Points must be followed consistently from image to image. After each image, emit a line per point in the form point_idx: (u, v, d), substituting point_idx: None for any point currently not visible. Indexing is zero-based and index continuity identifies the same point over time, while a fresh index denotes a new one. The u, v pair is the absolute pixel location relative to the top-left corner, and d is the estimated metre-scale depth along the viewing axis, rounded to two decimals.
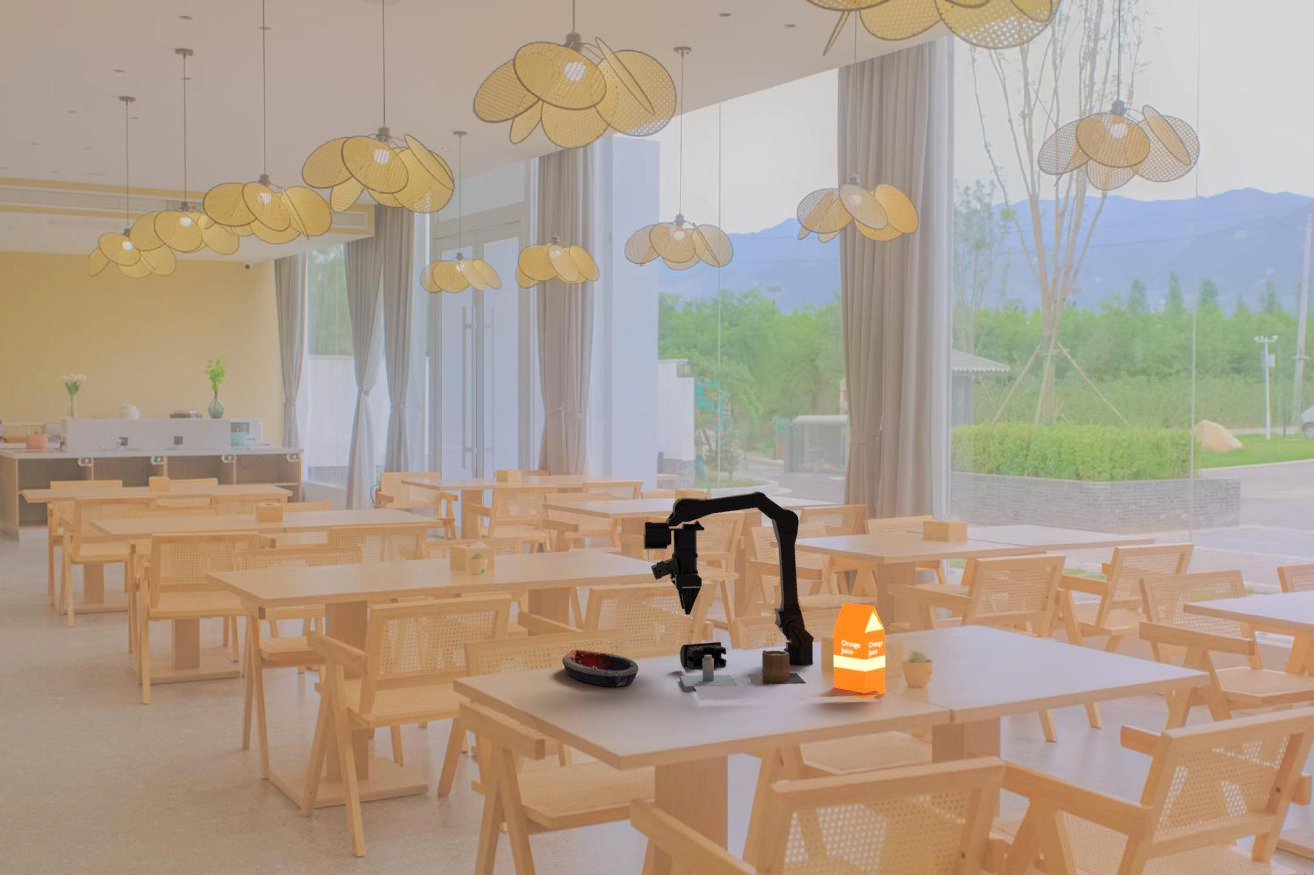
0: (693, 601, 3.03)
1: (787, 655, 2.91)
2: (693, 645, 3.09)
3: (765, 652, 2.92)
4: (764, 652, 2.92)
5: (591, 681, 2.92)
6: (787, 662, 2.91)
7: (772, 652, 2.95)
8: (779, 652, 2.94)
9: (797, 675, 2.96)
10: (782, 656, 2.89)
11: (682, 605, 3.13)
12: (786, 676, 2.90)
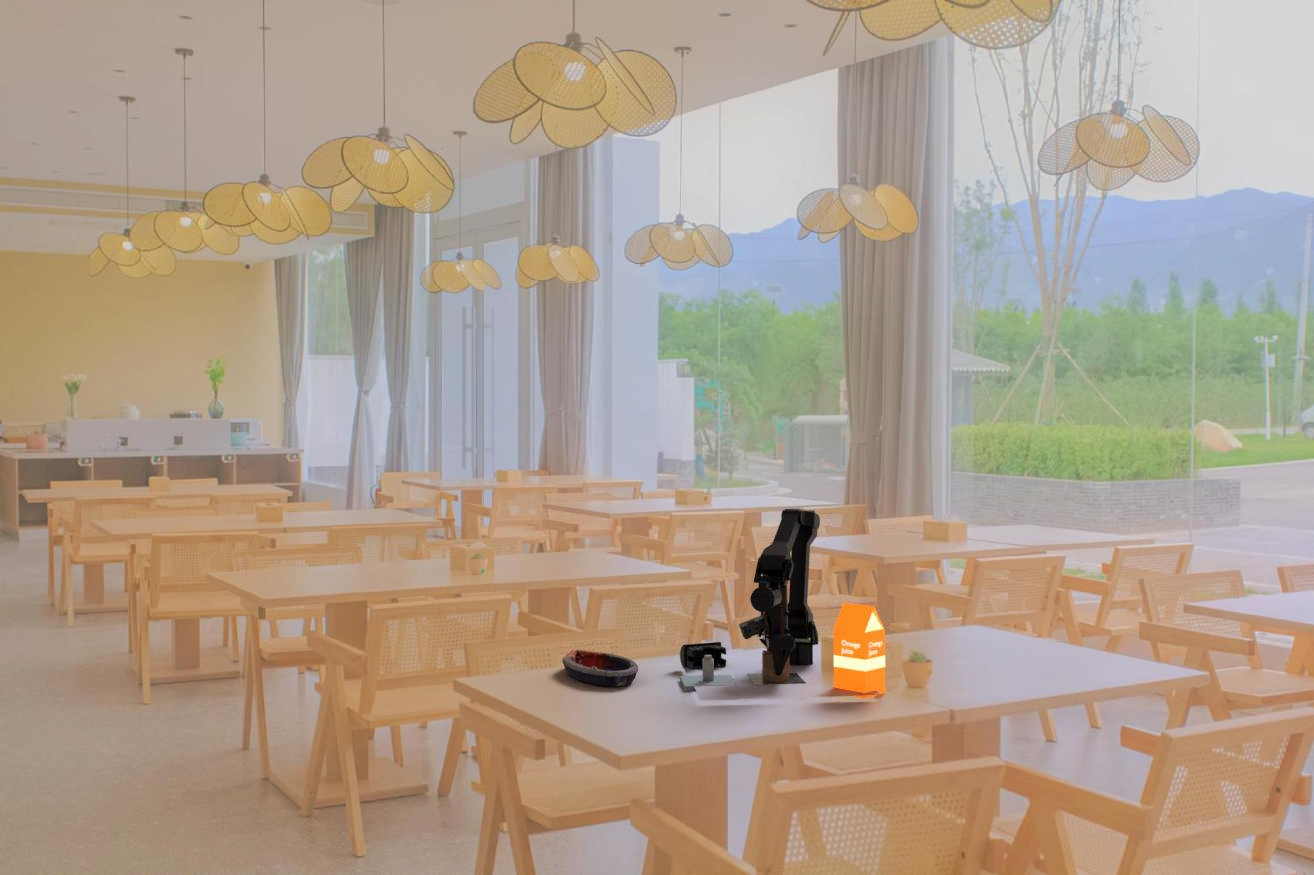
0: (784, 661, 2.88)
1: None
2: (693, 645, 3.09)
3: (765, 652, 2.92)
4: (764, 652, 2.92)
5: (591, 681, 2.92)
6: (787, 662, 2.91)
7: None
8: None
9: (797, 675, 2.96)
10: None
11: None
12: (786, 676, 2.90)
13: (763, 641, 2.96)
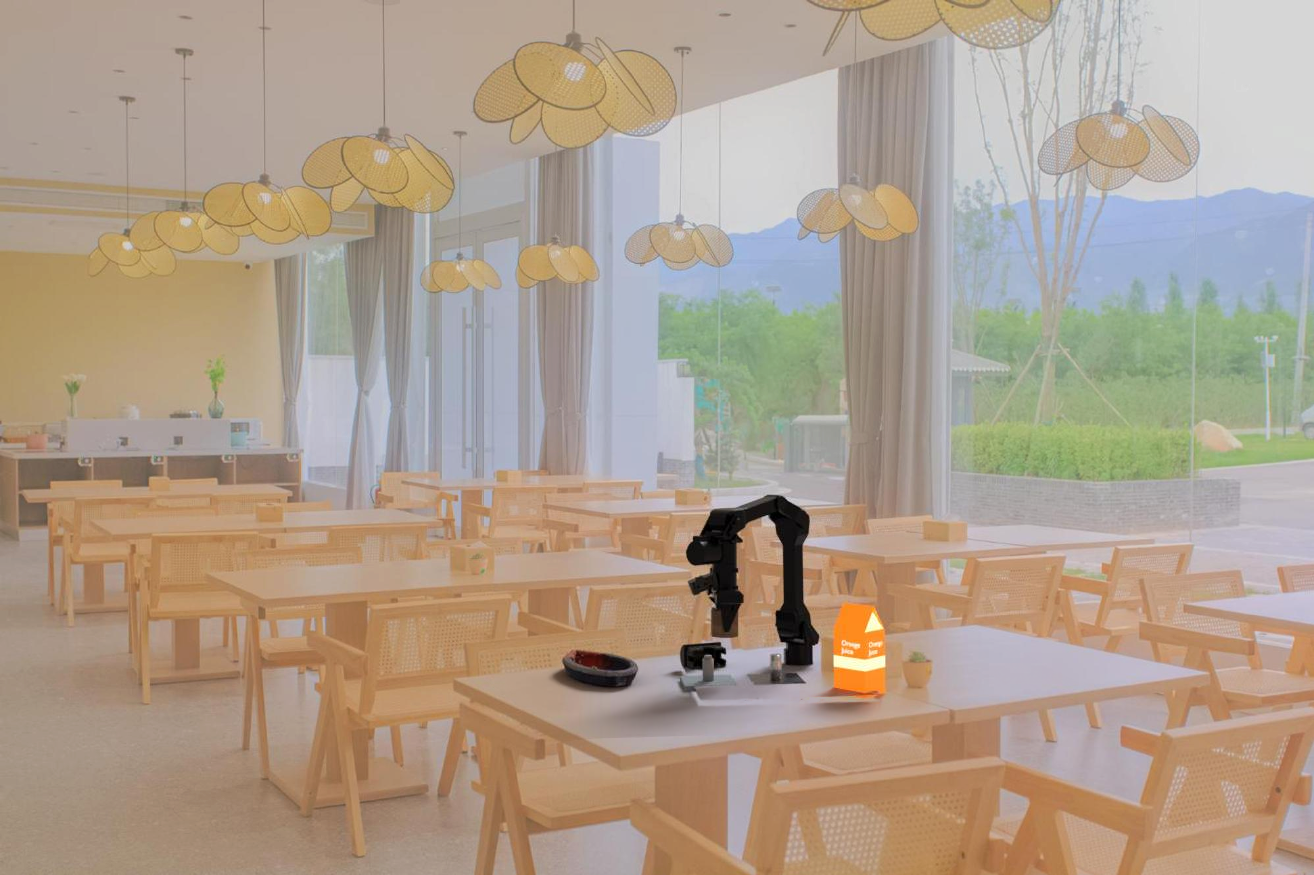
0: (732, 618, 2.87)
1: None
2: (693, 645, 3.09)
3: (714, 609, 2.90)
4: (713, 609, 2.90)
5: (591, 681, 2.92)
6: (736, 619, 2.89)
7: None
8: None
9: (797, 675, 2.96)
10: None
11: None
12: (734, 633, 2.89)
13: (712, 599, 2.95)
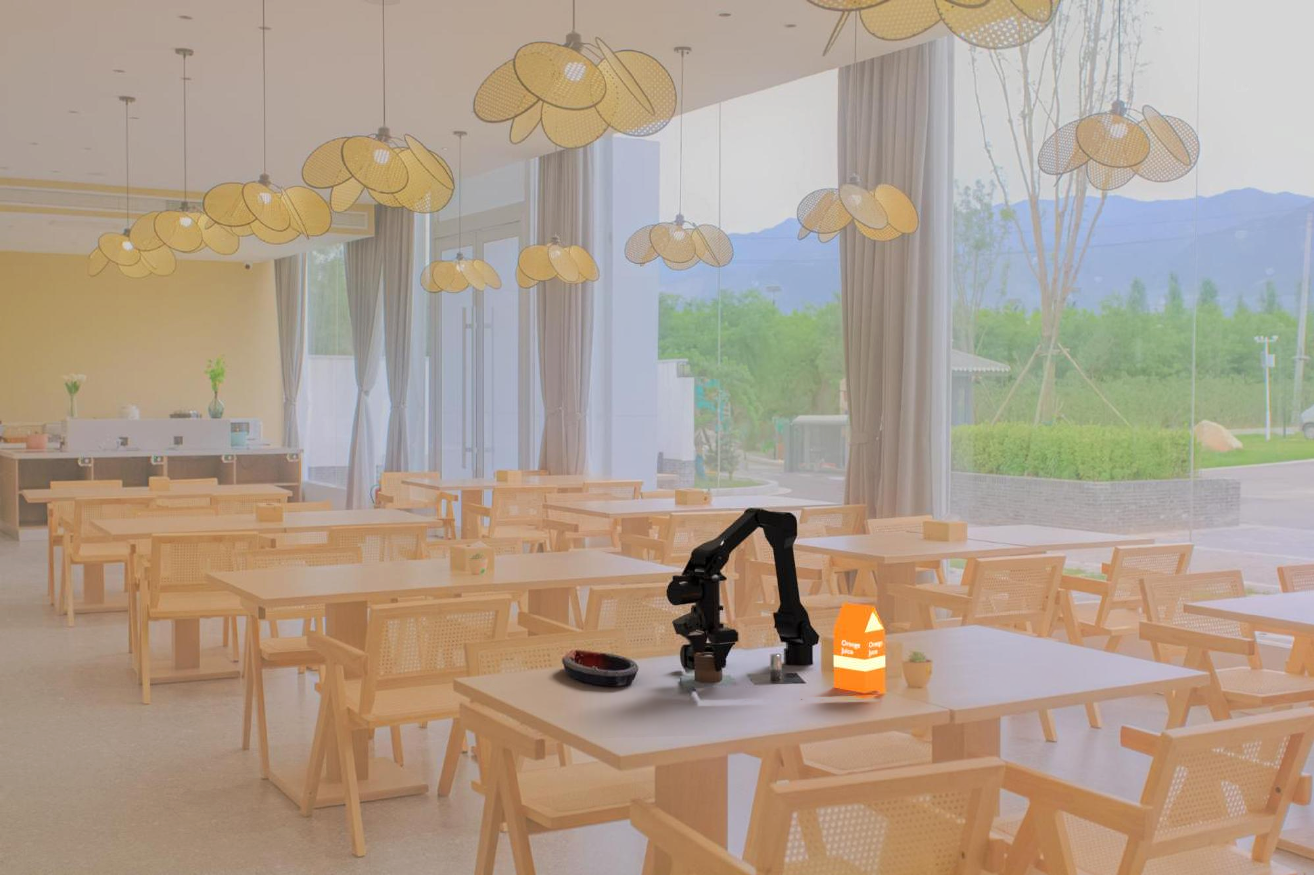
0: (725, 657, 2.87)
1: None
2: None
3: (699, 654, 2.90)
4: (698, 654, 2.89)
5: (591, 681, 2.92)
6: None
7: (702, 654, 2.93)
8: (708, 653, 2.94)
9: (797, 675, 2.96)
10: None
11: None
12: (720, 677, 2.90)
13: (688, 636, 2.95)
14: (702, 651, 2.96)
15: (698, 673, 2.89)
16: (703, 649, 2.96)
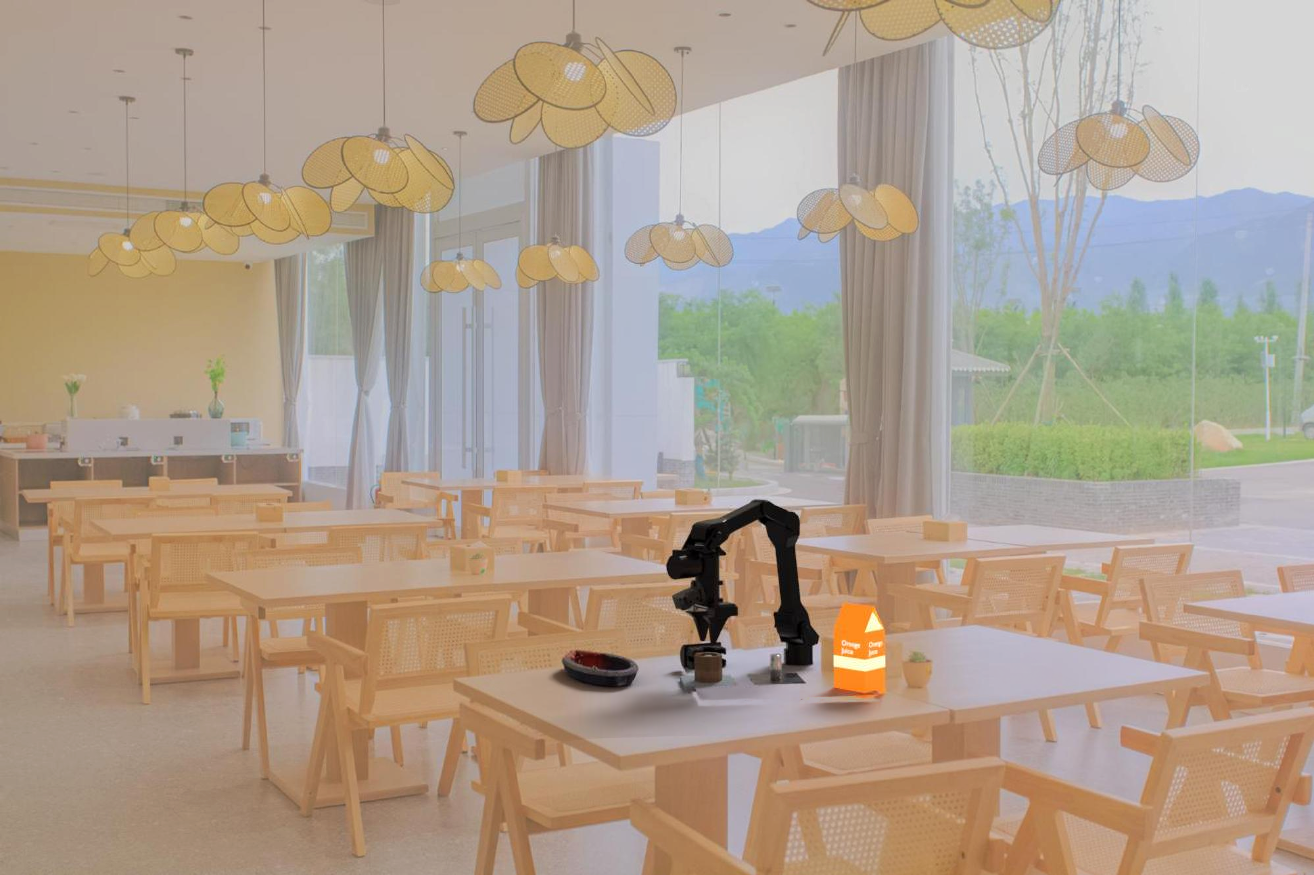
0: (720, 630, 2.88)
1: (721, 656, 2.91)
2: (693, 645, 3.09)
3: (699, 654, 2.90)
4: (698, 654, 2.89)
5: (591, 681, 2.92)
6: (721, 663, 2.91)
7: (702, 654, 2.93)
8: (708, 653, 2.94)
9: (797, 675, 2.96)
10: (718, 657, 2.89)
11: (701, 637, 2.93)
12: (720, 677, 2.90)
13: (692, 613, 2.93)
14: (706, 627, 2.94)
15: (698, 673, 2.89)
16: (707, 625, 2.94)
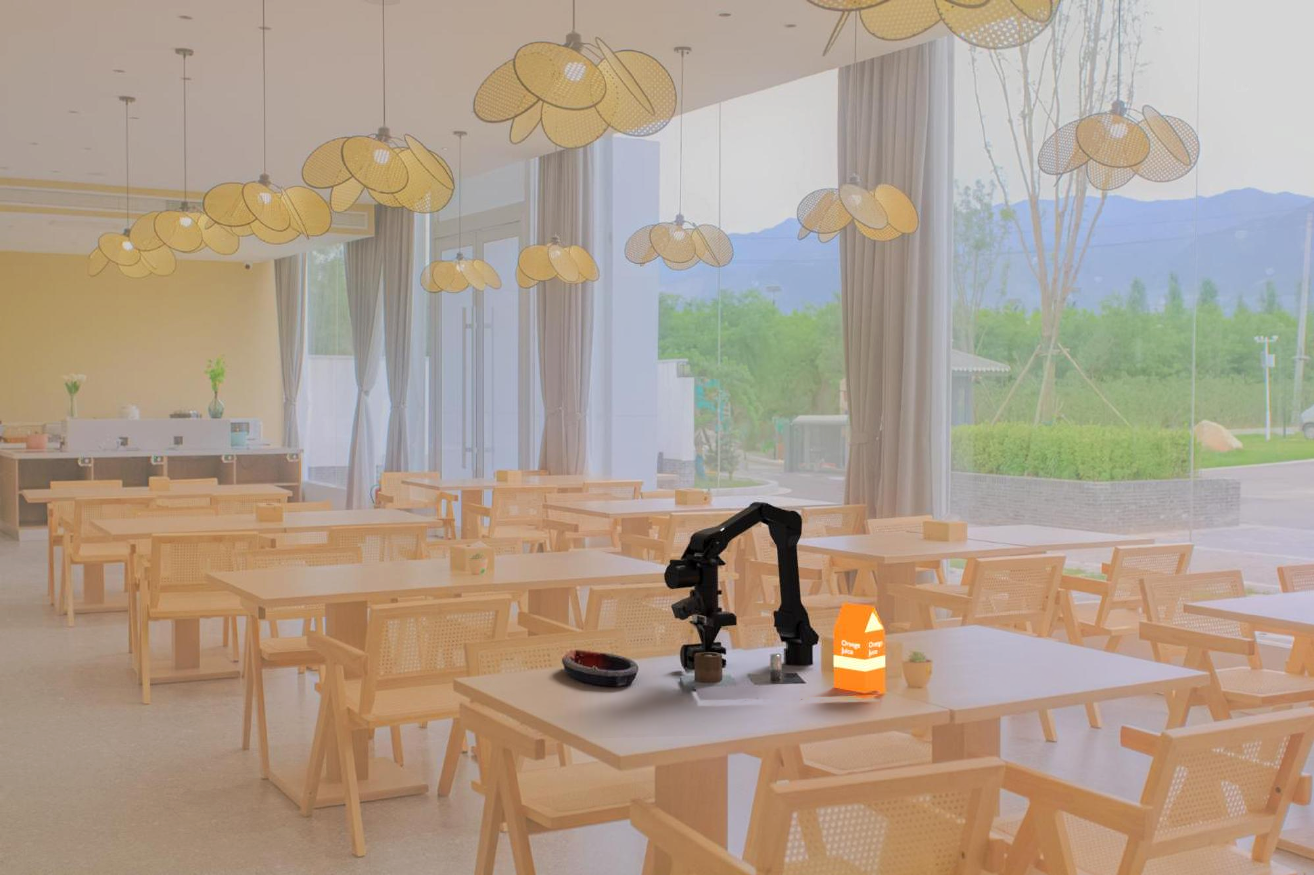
0: (714, 638, 2.93)
1: (721, 656, 2.91)
2: (693, 645, 3.09)
3: (699, 654, 2.90)
4: (698, 654, 2.89)
5: (591, 681, 2.92)
6: (721, 663, 2.91)
7: (702, 654, 2.93)
8: (708, 653, 2.94)
9: (797, 675, 2.96)
10: (718, 657, 2.89)
11: None
12: (720, 677, 2.90)
13: (696, 623, 2.93)
14: None
15: (698, 673, 2.89)
16: None
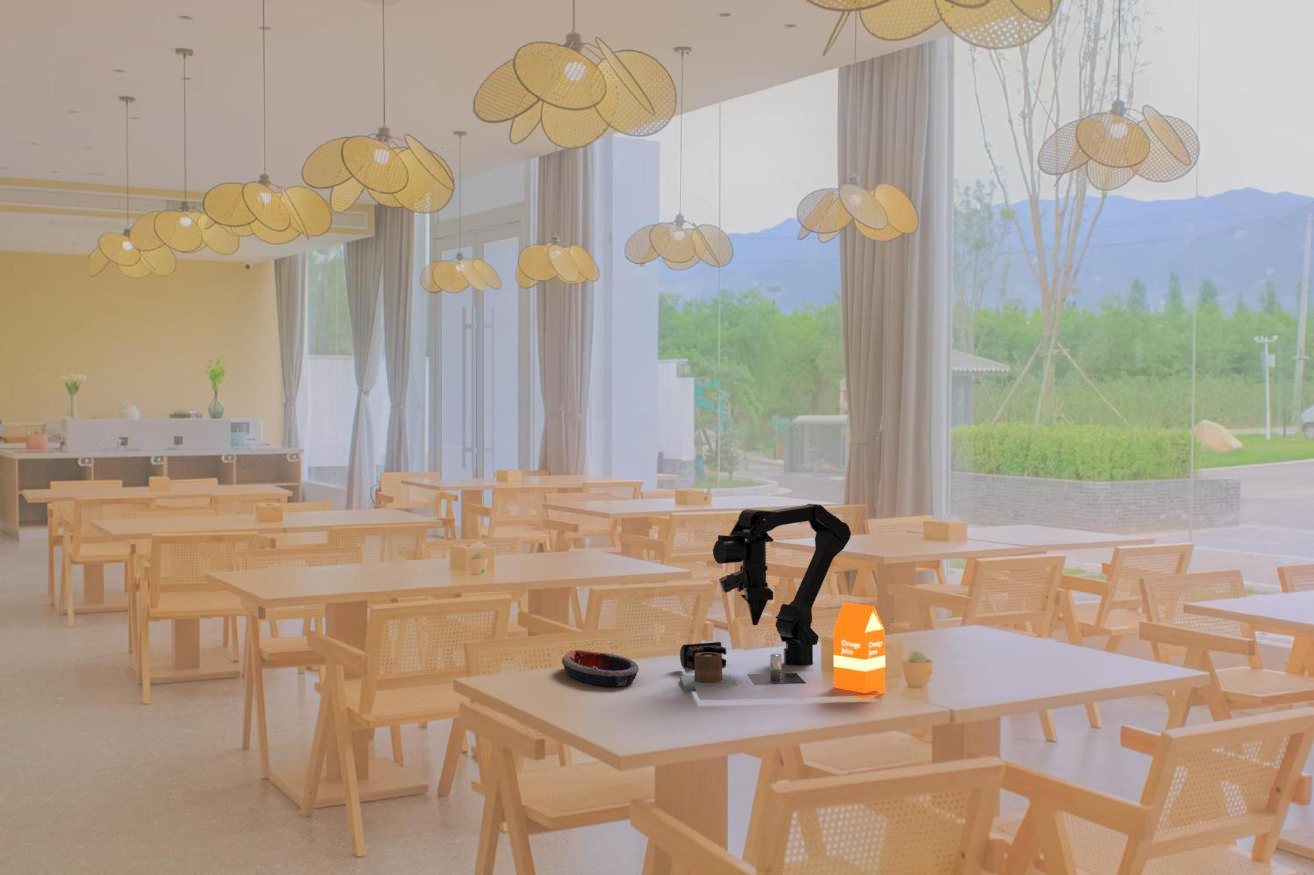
0: (761, 612, 3.03)
1: (721, 656, 2.91)
2: (693, 645, 3.09)
3: (699, 654, 2.90)
4: (698, 654, 2.89)
5: (591, 681, 2.92)
6: (721, 663, 2.91)
7: (702, 654, 2.93)
8: (708, 653, 2.94)
9: (797, 675, 2.96)
10: (718, 657, 2.89)
11: None
12: (720, 677, 2.90)
13: (744, 597, 3.05)
14: None
15: (698, 673, 2.89)
16: None
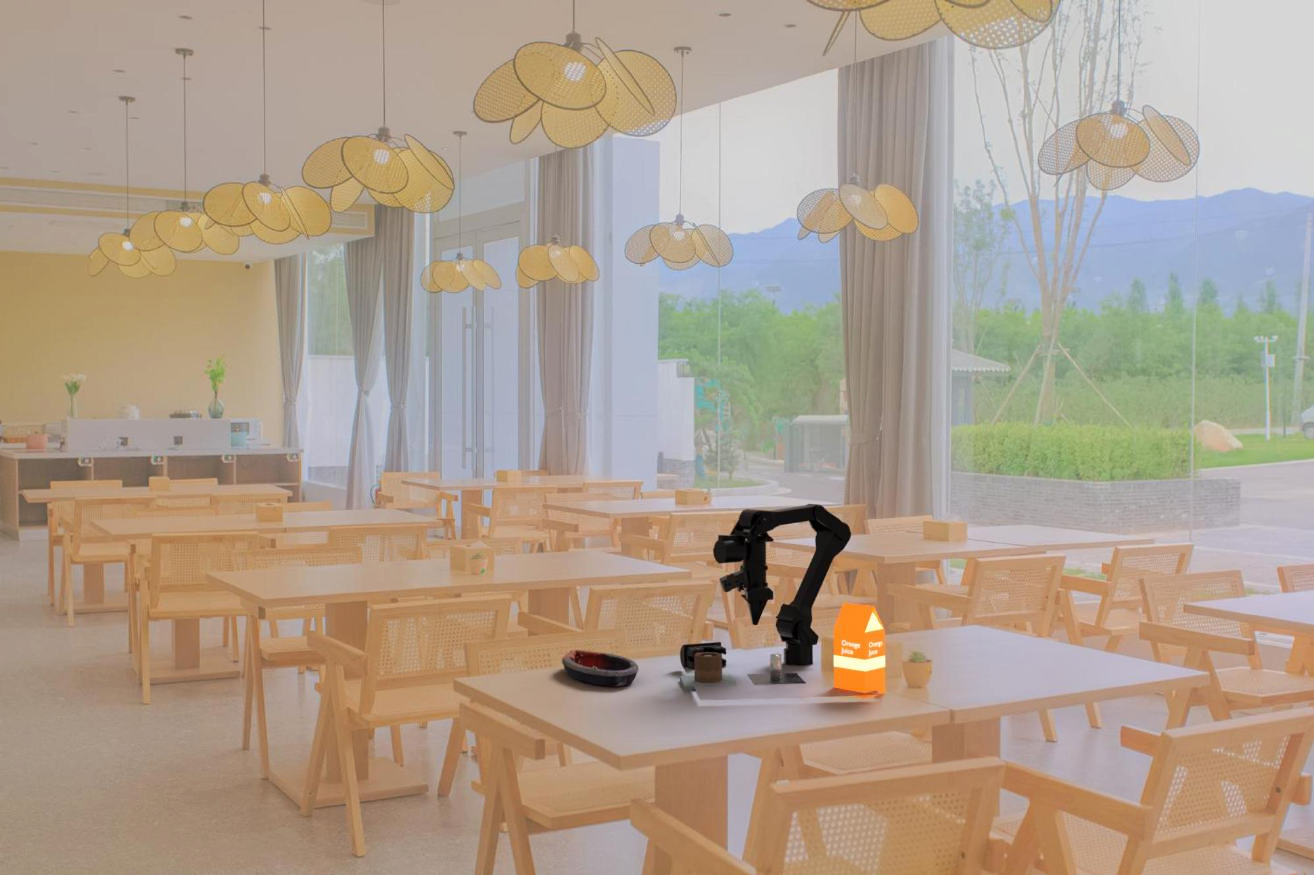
0: (761, 612, 3.03)
1: (721, 656, 2.91)
2: (693, 645, 3.09)
3: (699, 654, 2.90)
4: (698, 654, 2.89)
5: (591, 681, 2.92)
6: (721, 663, 2.91)
7: (702, 654, 2.93)
8: (708, 653, 2.94)
9: (797, 675, 2.96)
10: (718, 657, 2.89)
11: None
12: (720, 677, 2.90)
13: (744, 597, 3.05)
14: None
15: (698, 673, 2.89)
16: None
